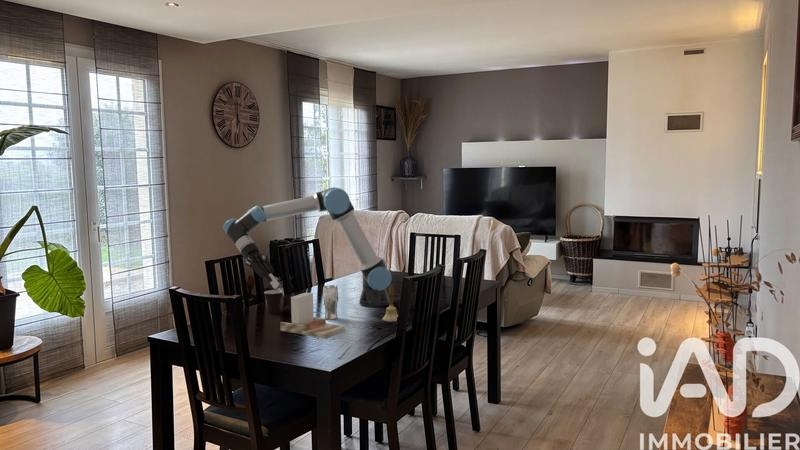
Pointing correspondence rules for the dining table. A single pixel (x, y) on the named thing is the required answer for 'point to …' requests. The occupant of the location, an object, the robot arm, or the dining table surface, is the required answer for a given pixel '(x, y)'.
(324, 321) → the press tester
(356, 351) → the dining table surface
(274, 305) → the coffee mug
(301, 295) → the white rectangular box
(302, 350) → the dining table surface
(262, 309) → the dining table surface
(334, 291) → the beer glass
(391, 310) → the brush
